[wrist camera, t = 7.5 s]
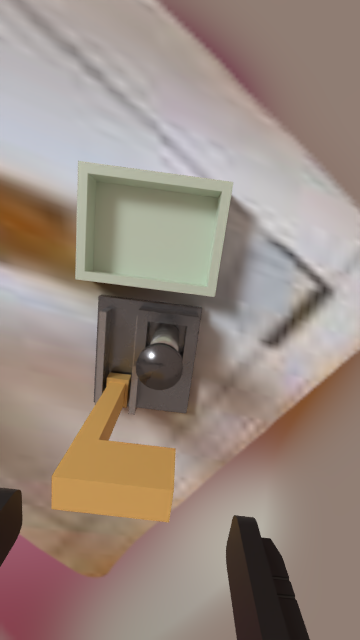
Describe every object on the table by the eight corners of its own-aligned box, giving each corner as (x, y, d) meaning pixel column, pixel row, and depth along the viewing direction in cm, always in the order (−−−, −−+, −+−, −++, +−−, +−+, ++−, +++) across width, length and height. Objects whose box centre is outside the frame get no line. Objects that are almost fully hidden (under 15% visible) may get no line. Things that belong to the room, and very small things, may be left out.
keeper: (108, 398, 33) (46, 513, 18) (110, 372, 32) (45, 470, 17) (175, 406, 33) (168, 527, 18) (178, 380, 32) (174, 484, 17)
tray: (87, 277, 31) (75, 279, 27) (90, 172, 28) (78, 161, 25) (211, 293, 31) (214, 297, 28) (227, 191, 28) (233, 182, 25)
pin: (149, 348, 32) (133, 387, 22) (152, 317, 31) (137, 343, 21) (180, 352, 32) (179, 392, 22) (185, 321, 31) (185, 349, 21)
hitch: (96, 397, 35) (86, 414, 31) (101, 294, 31) (90, 299, 27) (186, 408, 35) (186, 426, 31) (201, 307, 31) (203, 313, 28)
